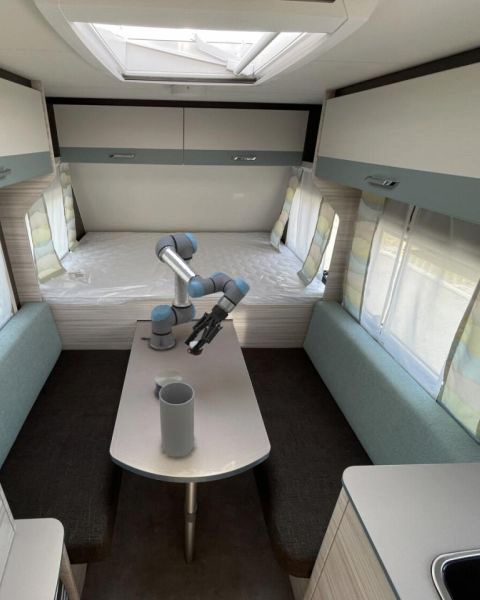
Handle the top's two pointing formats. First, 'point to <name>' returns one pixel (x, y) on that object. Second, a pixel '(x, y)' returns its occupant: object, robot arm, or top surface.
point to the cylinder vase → (177, 418)
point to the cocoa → (195, 344)
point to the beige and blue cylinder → (166, 379)
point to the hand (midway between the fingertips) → (189, 348)
